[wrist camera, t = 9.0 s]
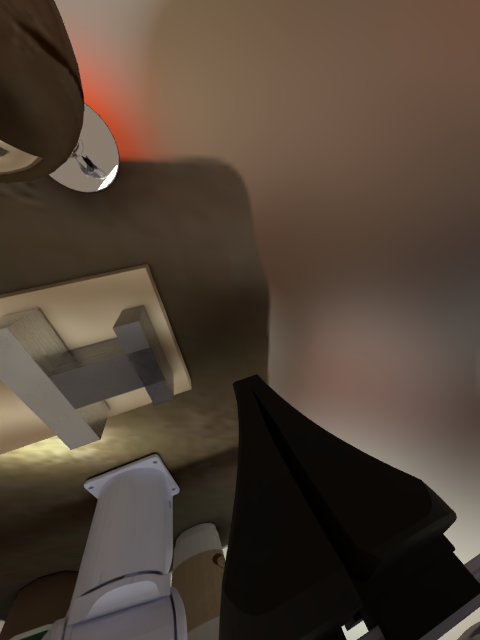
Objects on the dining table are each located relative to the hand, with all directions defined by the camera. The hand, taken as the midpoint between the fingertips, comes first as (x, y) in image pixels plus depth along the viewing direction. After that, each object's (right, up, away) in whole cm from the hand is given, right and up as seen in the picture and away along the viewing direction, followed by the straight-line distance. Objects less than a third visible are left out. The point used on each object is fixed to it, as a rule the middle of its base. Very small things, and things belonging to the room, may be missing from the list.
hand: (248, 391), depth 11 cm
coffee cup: (-8, -35, +25) cm, 44 cm away
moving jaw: (-11, +1, +5) cm, 12 cm away
